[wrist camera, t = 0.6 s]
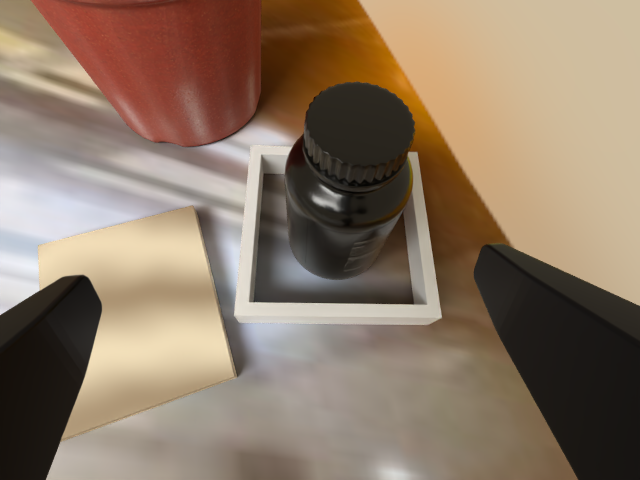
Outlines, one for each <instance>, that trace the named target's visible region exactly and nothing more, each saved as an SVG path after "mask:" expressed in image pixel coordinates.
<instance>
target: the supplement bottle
mask: <svg viewBox="0 0 640 480" xmlns="http://www.w3.org/2000/svg"><path fill="white" fill-rule="evenodd" d="M414 125H415V122H414V120H413V119H412V114H411V112H410V111H409V108H408V106H406V105H405V104H404V103H403V101H402V100H401V99H400V98H398V97H397V96H396V95H395V94H394V93H391V92H389V91H388V90H387V89H385V88H381V87H379V86H378V85H372V84H369V83H360V82H354V83H350V82H346V83H344V84H337V85H335V86H332V87H328V88H327V89H326V90H324V91H321V92H320V94H319V95H318V96H316V97H314V100H313V102H311V103H310V104H309V109H308V110H307V112H306V117H305V124H304V134H303V135H302V136H301V137H300V138H299V139H298V140H297V141H296V142H295V144H294V145H293V147H292V148H291V150H290V152H289V154H288V157H287V160H286V164H285V194H286V209H287V223H288V236H289V243H290V247H291V250H292V252H293V254H294V256H295V258H296V259H297V261H298V262H299V263H300V264H301V265H302V266H303V267H304V268H305V269H306V270H308V271H309V272H311V273H313V274H314V275H317V276H319V277H322V278H326V279H331V280H342V279H348V278H352V277H355V276H357V275H359V274H361V273H363V272H364V271H365V270H367V269H368V268H369V267H370V266H371V265H372V264H373V262H374V261H375V260H376V258H377V257H378V255H379V253H380V252H381V250H382V248H383V246H384V244H385V243H386V241H387V239H388V237H389V235H390V234H391V232H392V230H393V228H394V226H395V225H396V223H397V221H398V219H399V217H400V216H401V214H402V212H403V210H404V208H405V206H406V205H407V202H408V200H409V198H410V195H411V192H412V187H413V170H412V166H411V162H410V159H409V157H408V152H409V150H410V148H411V146H412V143H413V137H414V134H415V129H414Z"/></svg>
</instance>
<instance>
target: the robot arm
mask: <svg viewBox="0 0 640 480" xmlns="http://www.w3.org/2000/svg"><path fill="white" fill-rule="evenodd" d="M474 279H475V282H476V284H477V287H478V289H479V291H480V294H481V296H482V298H483V301H484V303H485V306H486V308H487V310H488V313H489V315H490V317H491V320H492V322H493V324H494V327H495V329H496V331H497V333H498V335H499V337H500V339H501V341H502V343H503V345H504V346H505V348H506V350H507V352H508V354H509V355H510V357H511V359H512V361H513V363H514V364H515V366H516V368H517V370H518V372H519V373H520V375H521V377H522V379H523V381H524V382H525V384H526V386H527V388H528V390H529V391H530V393H531V395H532V397H533V399H534V400H535V402H536V404H537V406H538V408H539V409H540V411H541V413H542V415H543V417H544V419H545V420H546V422H547V424H548V426H549V428H550V429H551V431H552V433H553V435H554V437H555V438H556V440H557V442H558V444H559V446H560V447H561V449H562V451H563V453H564V455H565V456H566V458H567V460H568V462H569V464H570V465H571V467H572V469H573V471H574V473H575V474H576V476H577V478H578V480H640V306H639V305H636V304H634V303H632V302H630V301H628V300H625V299H623V298H621V297H619V296H617V295H614V294H612V293H610V292H608V291H606V290H603V289H601V288H599V287H597V286H594V285H593V284H590V283H588V282H586V281H584V280H581V279H579V278H577V277H575V276H573V275H571V274H569V273H566V272H564V271H562V270H560V269H558V268H555V267H553V266H551V265H549V264H547V263H544V262H542V261H540V260H538V259H536V258H533V257H531V256H529V255H527V254H525V253H523V252H520V251H518V250H516V249H514V248H512V247H509V246H507V245H505V244H502V243H494V244H486V245H484V246H483V247H482V249H481V251H480V254H479V257H478V260H477V263H476V266H475V269H474ZM101 314H102V303H101V300H100V298H99V296H98V294H97V292H96V290H95V288H94V286H93V284H92V283H91V281H90V279H89V278H88V277H87V276H86V275H70V276H64V277H61V278H60V279H58V280H56V281H55V282H53V283H51V284H50V285H48V286H47V287H45V288H43V289H42V290H40V291H38V292H37V293H35V294H34V295H32V296H30V297H29V298H27V299H26V300H24V301H22V302H21V303H19V304H17V305H16V306H14V307H13V308H11V309H9V310H8V311H6V312H5V313H3V314H1V315H0V480H46V478H47V475H48V473H49V470H50V467H51V465H52V462H53V460H54V457H55V454H56V452H57V449H58V447H59V444H60V441H61V439H62V436H63V433H64V431H65V428H66V426H67V423H68V420H69V418H70V415H71V413H72V410H73V407H74V405H75V402H76V400H77V397H78V394H79V392H80V389H81V386H82V384H83V381H84V378H85V375H86V371H87V368H88V364H89V360H90V357H91V353H92V349H93V345H94V341H95V337H96V333H97V329H98V326H99V322H100V318H101Z"/></svg>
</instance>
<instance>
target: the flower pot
mask: <svg viewBox="0 0 640 480" xmlns="http://www.w3.org/2000/svg"><path fill="white" fill-rule="evenodd" d="M31 1H32V2H33V4H34V5H35V6H36V8H37V9H38V10H39V11H40V13H41V14H42V15H43V17H44V18H45V19H46V20H47V22H48V23H49V24H50V26H51V27H52V28H53V29H54V31H55V32H56V33H57V35H58V36H59V37H60V38H61V40H62V41H63V42H64V44H65V45H66V46H67V47H68V49H69V50H70V51H71V53H72V54H73V55H74V56H75V58H76V59H77V60H78V62H79V63H80V64H81V66H82V67H83V68H84V69H85V71H86V72H87V73H88V75H89V76H90V77H91V78H92V80H93V81H94V82H95V84H96V85H97V86H98V88H99V89H100V90H101V91H102V93H103V94H104V95H105V97H106V98H107V99H108V101H109V102H110V103H111V104H112V106H113V107H114V108H115V110H116V111H117V112H118V113H119V115H120V116H121V118H122V119H123V120H124V122H125V123H126V124H127V125H128V126H129V127H130V128H131V129H132V130H133V131H135V132H136V133H137V134H139V135H141V136H142V137H144V138H146V139H148V140H150V141H153V142H157V143H159V142H161V141H164V142H170V143H174V144H177V145H180V146H183V147H189V146H199V145H205V144H209V143H212V142H215V141H218V140H220V139H223V138H225V137H227V136H229V135H231V134H233V133H234V132H236V131H237V130H239V129H240V128H241V127H242V126H244V125H245V124H246V123H247V122H248V121H249V120H250V119H251V117H252V116H253V114H254V113H255V112H256V108H257V104H258V101H259V97H260V94H261V0H31Z"/></svg>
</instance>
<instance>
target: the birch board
mask: <svg viewBox="0 0 640 480" xmlns="http://www.w3.org/2000/svg"><path fill="white" fill-rule="evenodd" d="M38 260H39V284H40V290H42V289H43V288H45V287H47V286H48V285H50V284H51V283H53V282H55V281H56V280H58V279H60V278H61V277H64V276H70V275H86V276H87V277H88V278H89V279H90V281H91V283H92V284H93V286H94V288H95V290H96V292H97V294H98V296H99V298H100V300H101V303H102V314H101V318H100V322H99V326H98V329H97V333H96V337H95V341H94V345H93V349H92V353H91V357H90V360H89V364H88V368H87V371H86V375H85V378H84V381H83V384H82V386H81V389H80V392H79V394H78V397H77V400H76V402H75V405H74V407H73V410H72V413H71V415H70V418H69V420H68V423H67V426H66V428H65V431H64V433H63V436H62V439H61V441H60V442H62V441H64V440H67V439H70V438H73V437H75V436H78V435H81V434H84V433H86V432H89V431H92V430H95V429H97V428H100V427H103V426H106V425H108V424H111V423H114V422H117V421H119V420H122V419H125V418H127V417H130V416H133V415H136V414H138V413H141V412H144V411H147V410H149V409H152V408H155V407H158V406H160V405H163V404H166V403H169V402H171V401H174V400H177V399H180V398H182V397H185V396H188V395H191V394H193V393H196V392H199V391H202V390H204V389H207V388H210V387H213V386H215V385H218V384H221V383H223V382H226V381H229V380H232V379H234V378H237V374H236V370H235V366H234V362H233V358H232V354H231V349H230V345H229V341H228V337H227V333H226V329H225V325H224V321H223V317H222V313H221V309H220V304H219V300H218V296H217V292H216V288H215V284H214V280H213V276H212V272H211V268H210V264H209V260H208V255H207V251H206V247H205V243H204V239H203V235H202V231H201V227H200V223H199V219H198V215H197V212H196V210H195V208H194V207H193V206H189V207H185V208H181V209H177V210H173V211H169V212H165V213H162V214H158V215H154V216H150V217H146V218H142V219H138V220H134V221H130V222H127V223H123V224H119V225H115V226H111V227H107V228H103V229H99V230H96V231H92V232H88V233H84V234H80V235H76V236H72V237H68V238H64V239H61V240H57V241H53V242H49V243H45V244H41V245H38Z"/></svg>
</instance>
